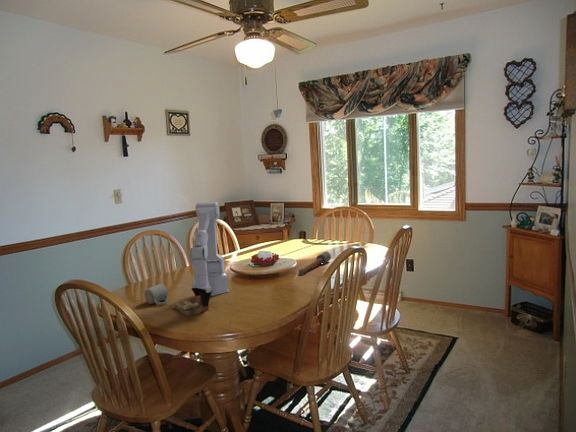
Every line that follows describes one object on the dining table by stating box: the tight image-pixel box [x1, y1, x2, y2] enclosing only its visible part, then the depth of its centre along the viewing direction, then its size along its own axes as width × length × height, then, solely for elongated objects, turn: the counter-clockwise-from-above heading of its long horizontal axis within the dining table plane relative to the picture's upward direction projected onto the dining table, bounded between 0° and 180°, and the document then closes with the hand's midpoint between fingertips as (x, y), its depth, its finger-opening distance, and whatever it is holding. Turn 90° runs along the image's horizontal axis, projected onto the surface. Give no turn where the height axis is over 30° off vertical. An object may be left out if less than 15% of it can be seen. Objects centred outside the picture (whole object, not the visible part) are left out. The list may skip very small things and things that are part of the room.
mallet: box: [298, 251, 332, 275], centre depth 243 cm, size 6×6×30 cm
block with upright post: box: [183, 295, 210, 313], centre depth 184 cm, size 10×4×6 cm, turn 125°
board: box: [173, 300, 202, 317], centre depth 186 cm, size 6×14×2 cm, turn 36°
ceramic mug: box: [143, 283, 169, 306], centre depth 197 cm, size 11×8×8 cm
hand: (202, 304), depth 186 cm, fingers open, 5 cm apart
